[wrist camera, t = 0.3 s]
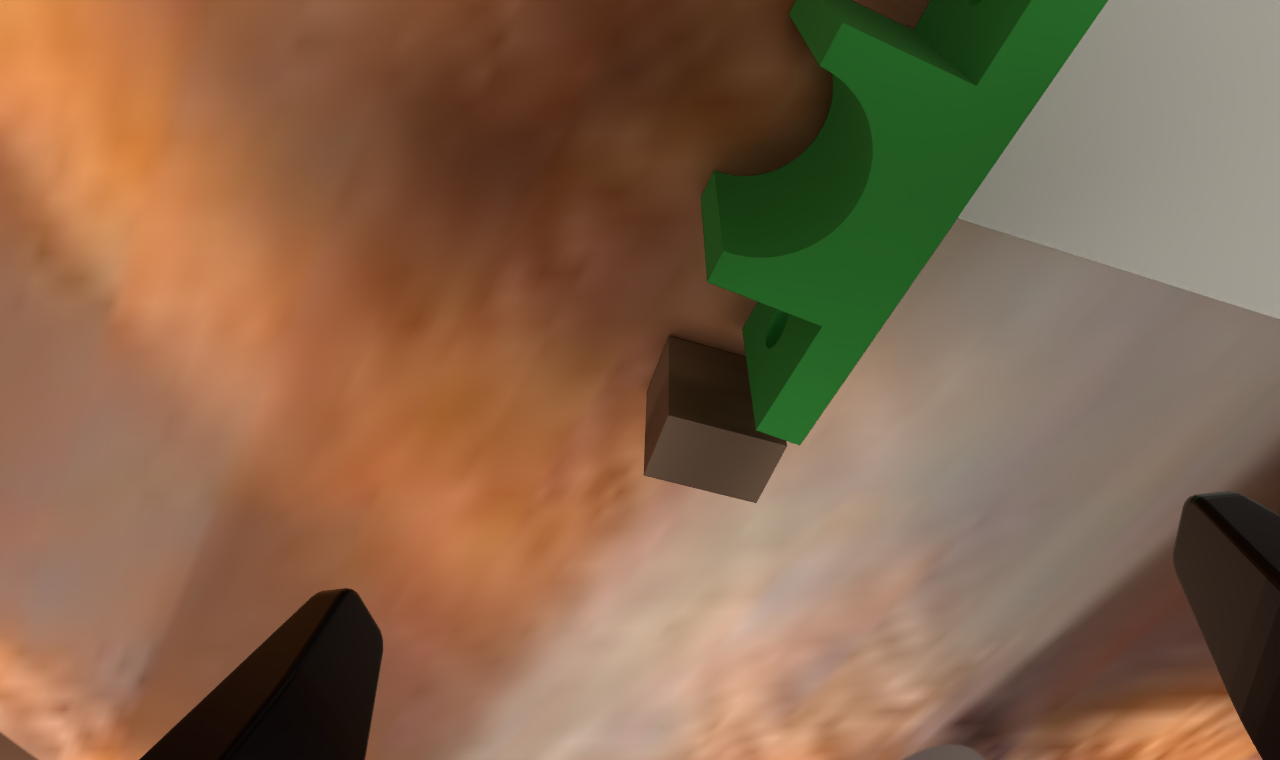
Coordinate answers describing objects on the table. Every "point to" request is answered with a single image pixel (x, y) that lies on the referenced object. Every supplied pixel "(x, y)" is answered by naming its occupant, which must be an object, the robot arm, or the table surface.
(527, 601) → the table surface
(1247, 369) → the table surface
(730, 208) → the pipe clamp
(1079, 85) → the mat
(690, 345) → the pair of blocks
